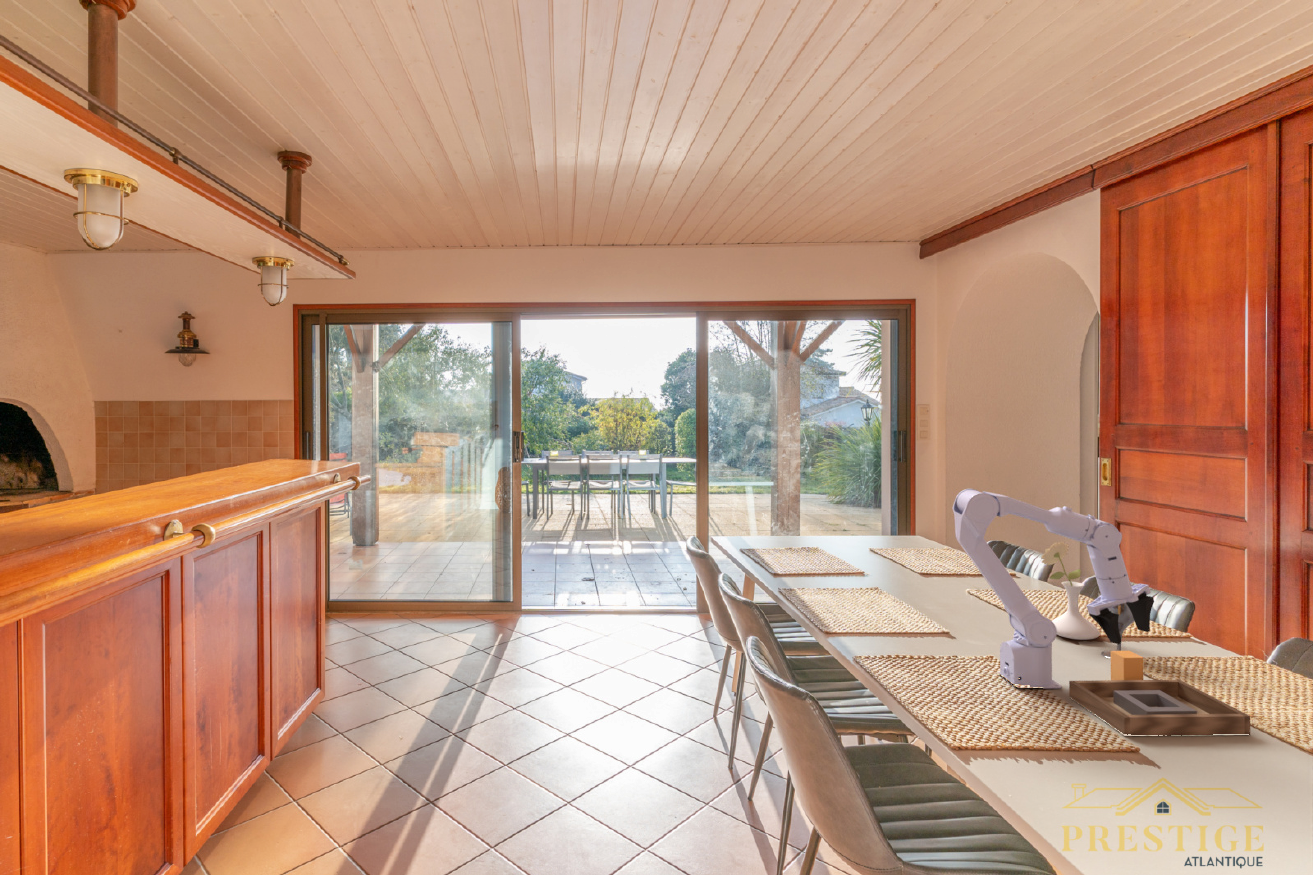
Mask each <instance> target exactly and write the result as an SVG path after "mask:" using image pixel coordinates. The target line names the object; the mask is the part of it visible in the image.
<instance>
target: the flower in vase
mask: <svg viewBox="0 0 1313 875" xmlns="http://www.w3.org/2000/svg"><path fill="white" fill-rule="evenodd" d="M1044 550H1045V551H1044V553H1043V554H1042V555H1041V558H1040V559H1041V560H1042V561H1041V563H1042V564H1044V565H1046V566H1053V565H1054V564H1057V563H1058V562H1060V564H1061V567H1062V570H1063V571H1056V572H1053V573H1052V574H1051V575H1050V576H1049V579H1052V580H1060V579H1062V577H1064V576H1066V578H1067V580H1068V581H1062V582H1061V585H1062V586H1063V587H1064V589H1065V591H1066V595H1067V610H1066V611H1065V612H1064V613H1062V614H1061V615H1059V616H1057V617H1055V618H1054V619H1051V621H1052V622H1053V623H1054V624H1055V626H1056V629H1057V635H1056V636H1060V637H1062V638H1066V639H1071V640H1081V641H1082V640H1083V641H1087V640H1094V639H1096V638H1098V637H1099V636H1100V635H1101V633H1100V630H1099V628H1097V626H1095V624H1093V623H1092V622H1091V621H1090V620H1089V619H1087V618H1086V617H1085V616H1083V615H1082V614H1081V612H1080V610H1079V598H1080V597H1079V596H1080V593H1081V590H1082V589H1083V588H1084V587H1085V584H1084V583H1081V582H1077V581H1071V580H1076V579H1080V577H1081V573H1082V572H1081V568H1079V569H1076V570H1073V571H1071V572H1069V573H1068V574H1067V572H1066V570H1065V567H1064V563H1063V561H1062V560H1063V559H1064V558H1065V557H1066V556H1067V554H1068V551H1069V544H1068V543H1065V542H1064V541H1059V542H1058V541H1055V542H1054V543H1053V544H1051V545H1050V547H1049V548H1045V549H1044Z"/></svg>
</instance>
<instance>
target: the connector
mask: <svg viewBox="0 0 1313 875" xmlns="http://www.w3.org/2000/svg"><path fill="white" fill-rule="evenodd" d="M1110 680H1144V657H1143V656H1140V655H1139V654H1137V653H1136V652H1134V651H1131V650H1122V651H1116V650H1113V651H1111V659H1110Z"/></svg>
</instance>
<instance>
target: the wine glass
mask: <svg viewBox="0 0 1313 875" xmlns="http://www.w3.org/2000/svg"><path fill="white" fill-rule="evenodd" d="M1097 594H1098V596H1097V598H1098V597H1099V596H1100V595H1101V593H1100V590H1098V593H1097ZM1109 611H1111V613H1115V614H1118V615H1119V617H1118V628H1119V632H1120V636H1121V641H1122V640H1123V638H1122V637H1123V634H1124V632H1125V631H1126V629H1127V628H1128V627H1130V626H1131V625H1132V624H1133V623H1135V621H1134V618H1133V615H1132V613H1131V611H1130V609H1129V607H1128V605H1127V604H1126V603H1122V604H1120V605H1117V606H1115V607H1112V608H1110V609H1109ZM1111 651H1114V650H1112V649H1111V650H1103V651H1101V652H1100V655H1102V656H1103V657H1104V658H1107V659H1109V660H1111ZM1115 651H1123V650H1122V643H1121V644H1116V650H1115Z"/></svg>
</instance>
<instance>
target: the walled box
mask: <svg viewBox="0 0 1313 875" xmlns="http://www.w3.org/2000/svg"><path fill="white" fill-rule="evenodd" d="M1068 682H1069V683H1068V685H1069V692H1068V693H1069V696H1070V697H1071V698H1072V699H1073V700H1075V701H1076V702H1077V703H1076V702H1075V701H1074V702H1075V703H1076V704H1078V703H1079V704H1080V705H1082V706H1083V707H1085V708H1086V709H1087V710H1086V709H1085V708H1084V709H1085V710H1086V711H1088V710H1089V711H1091V712H1092V713H1093V714H1096V715H1097V716H1098V717H1100V718H1101V719H1103V720H1105V721H1106V722H1107V723H1109V724H1110V725H1111V726H1112V727H1113V728H1116V729H1117V730H1119V731H1120V732H1122V733H1123V734H1127V735H1128V734H1131V735H1158V736H1157V737H1160V736H1159V735H1163V736H1162V737H1172V736H1171V735H1181V736H1180V737H1183V736H1182V735H1213V734H1249V735H1250V736H1251V716H1250V715H1249V714H1247V713H1245V712H1244V711H1241V710H1239V709H1237V708H1235V707H1233V706H1231V705H1229V704H1227V703H1225V702H1223V701H1222V700H1219V699H1218V698H1216V697H1214V696H1212V695H1210V694H1208V693H1206V692H1205V691H1202V690H1200V689H1198V688H1197V687H1194V686H1193V685H1191V684H1188V683H1187V682H1185V681H1183V680H1181V679H1143V680H1111V679H1109V680H1107V679H1105V680H1069V681H1068ZM1128 690H1160V691H1162V692H1164V693H1166V694H1168V695H1169V696H1171V697H1173V698H1175V699H1176V700H1178V701H1180V702H1182V703H1184V704H1185V705H1187V706H1189V707H1191V708H1192V709H1194V710H1196V711H1197V714H1164V715H1131V714H1130V713H1128V712H1127V711H1125V710H1124V709H1122V708H1120V707H1119V706H1117V705H1116V704H1114V696H1113V691H1128ZM1071 698H1070V699H1071ZM1072 699H1071V700H1072ZM1073 700H1072V701H1073ZM1079 704H1078V705H1079ZM1080 705H1079V706H1080ZM1082 706H1081V707H1082ZM1083 707H1082V708H1083ZM1089 711H1088V712H1089ZM1092 713H1091V714H1092ZM1093 714H1092V715H1093ZM1112 727H1111V728H1112ZM1113 728H1112V729H1113ZM1165 735H1167V736H1165Z"/></svg>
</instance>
